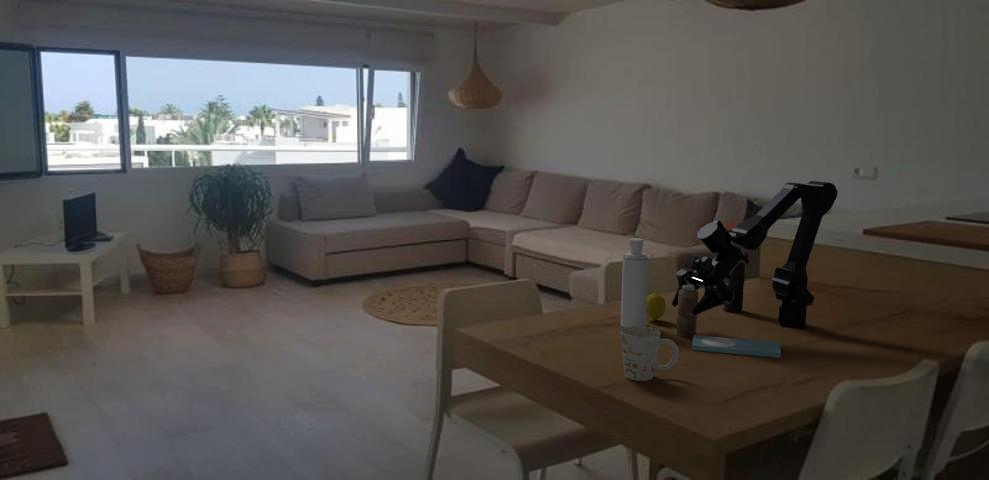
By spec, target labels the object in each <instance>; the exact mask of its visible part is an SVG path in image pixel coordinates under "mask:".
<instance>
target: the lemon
mask: <svg viewBox="0 0 989 480" xmlns="http://www.w3.org/2000/svg"><path fill="white" fill-rule="evenodd" d="M665 313H666V301H665V297H663V295H661V294H660V293H658V292H657V291H655V292H653V293H650V294H649V295H647V312H646V316H648V317H649V318H650V319H652V320H653V321H655V322H656V321H657V320H658V319H660V318H662V317H663V316H664V314H665Z"/></svg>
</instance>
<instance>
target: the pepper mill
mask: <svg viewBox="0 0 989 480" xmlns="http://www.w3.org/2000/svg"><path fill="white" fill-rule="evenodd" d="M698 302H699V291H698V290H695V286H692V285H683V286H682V289H680V290H679V298H678V305H677V319H676V336H678V337H682V338H693V336H694V335H697V320H698V314H697V315H693V314H692V311H693V309H694V308H695V306H696V305H697V304H698Z"/></svg>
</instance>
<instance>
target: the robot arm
mask: <svg viewBox="0 0 989 480" xmlns="http://www.w3.org/2000/svg"><path fill="white" fill-rule="evenodd" d="M838 193H839V192H838V189H837V187H836V185H835V184H834V183H832V182H828V181H816V180H811V181H808V182H807V183H800V182H786V183H784V184H783V185H782V188H781V190H780V191H779V192H777V193H776V194H775V195H774V196H773V198H771V199H770V200H769V201H768V202H767V203H765V205H764V206H763V207H762V208H761V209H760V210H759V211H758V212H757V213H756V214H755V215H753V216H752V217H750V218H746V219H745V221H743V220H742V221H741V222H740V223H738V224H737V225H736V226H734V227H733V228H732V229H730V230H727V228H726V227H725V226H724V224H723V223H722V221H721V220H718V219H714V220H713V221H711V222H709V223H707V224H705V225H704V226H701V227H700V228H699V230H698V231H697V234H696V235H697V236H696V237H697V239H699V241H700V242H701V243H702V245H704V247H706V248H707V250H708V251H709V252H710V253H712V254H715V255H714V256H713V257H712V258H710V257H708V256H702V258H701V257H698V256H695V255H691V254H687V255H686V258H685V261H684V263H683V264H682V266H683V267H685V268H679V270H678V271H677V272H676V273H675V276H676V280H677V281H678V282H677V283H678V287H677V290H676V292H675V294H674V296H673V297H674V298H673V300H672V302H671V305H672V306H673V307H678V298H679V290H680V289H682V286H683V285H692V286H695V290H697V291H698V290H699V289H700V288H702V289H704V294H703V296H702V297H701V298H700V300H698V304H697V305H696V306H695V308H694V309H693V311H692V314H693V315H697V316H698V315H699V314H702V313H704V312H706V311H708V310H711V309H714V308H717V307H719V306H724V304H725V303H728V304H730V302H731V301H732V300H733V299H734V293H733V292H732V290H731V289H730V288H729V287H728V286H727V282H725V280H727V281H728V280H729V279H730V278H731V276H730V273H731V272H732V270H733V269H734V268H735V267H736V266H737V265H738V264H739V262H741V263H744V264H745V265H749V263H750V262H749V261H750V259H749V253H747V252H743V250H742V249H744V250H749V251H755V250H757V249H759V247H760V246H761V245H762V244H763V243H764V241H765V240H766V238H767V236H768V234H769V233H768V232H769V230H770V228H771V227H773V225H774V224H775V223H776V222H777V221H778V220H779V219H780V218H781V217H782V216H783V215H784V214H785V213H786V212H787V211H788V210H789V209H791V207H793V205H795V203H796V202H797V201H799V199H800V203H801V207H802V214H801V217H800V220H799V224H798V226H797V228H796V229H797V230H796V232H795V237H794V238H793V239H794V240H793V243H792V245H791V248H790V251H789V254H788V257H787V261H785V262H786V263H785V264H784V265H782V267H780V266H776V268H775V269H774V270H775V271H774V275H773V276H772V278H771V282H772V284H771V287H772V289H773V291H774V293H775V297H776V299H777V300H779V301H780V302H781V303H780V304H779V305H778V312H777V321H778V323H779V325H780V327H781V326H782V327H790V328H792V327H793V328H804V329H806V328H808V327H807V311H808V310H807V309H808V306H812V305H813V303H814V300H815V296H814V295H813V294H812V293H811V292H810V291H809V289H808V288H807V287H808V281H809V277H808V273H807V265H808V262H809V259H810V256H811V253H812V249H813V247H814V244H815V240H816V238H817V235H818V231H819V228H820V226H821V223H822V219H823V217H824V216H825V215H826V214H827V213H828V212H829V211H831V209H832V207H833V205H834V204H835V201H836V200H837V197H838ZM739 247H740V248H741V250H740V248H739ZM687 268H689V269H691V270H689V269H687ZM692 270H693V271H692ZM724 302H725V303H724Z"/></svg>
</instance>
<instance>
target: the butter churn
mask: <svg viewBox="0 0 989 480" xmlns="http://www.w3.org/2000/svg"><path fill="white" fill-rule="evenodd" d="M746 217H747V215H746V214H744V215H743V220H742V222H743V221H745V220H747V218H746ZM739 248H740V247H739ZM740 250H741V251H742V248H740ZM745 266H746V264H744V263H741V262H739V264H738V265H737V266H736V267H735V268H734V269H733V270H732V272H731V273H730V276H731V278H730V279H729V280H728V279H727V283H726V285H727V286H728V287H729V288H730V289H731V290H732V292H733V293H734V299H733V300H732V301H731V302H730V304H728V303H725V302H724V303H725V304H724V305H723V308H722V310H723V311H725V312H732V313H742V312H743V308H744V307H743V305H744V290H745V287H744V286H745V279H746V278H745V276H746V275H745V273H746V272H745V271H746V270H745V269H746V267H745Z"/></svg>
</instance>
